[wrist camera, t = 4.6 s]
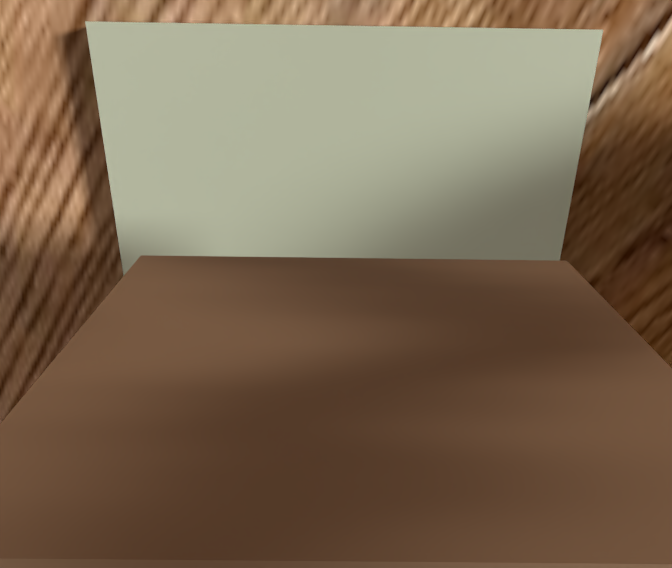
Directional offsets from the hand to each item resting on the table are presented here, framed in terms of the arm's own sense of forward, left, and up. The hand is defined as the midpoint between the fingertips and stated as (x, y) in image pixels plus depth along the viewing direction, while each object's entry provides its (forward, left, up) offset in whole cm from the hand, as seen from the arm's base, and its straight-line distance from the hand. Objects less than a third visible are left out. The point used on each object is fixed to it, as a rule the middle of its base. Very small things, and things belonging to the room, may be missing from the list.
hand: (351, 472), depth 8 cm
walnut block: (0, 0, -1) cm, 1 cm away
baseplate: (0, 0, -9) cm, 9 cm away
